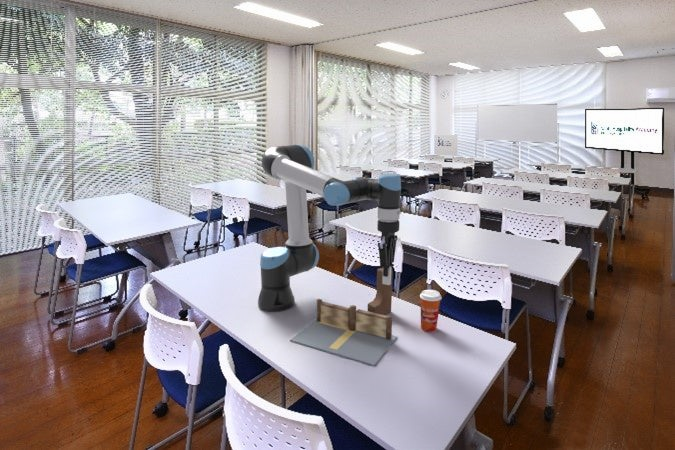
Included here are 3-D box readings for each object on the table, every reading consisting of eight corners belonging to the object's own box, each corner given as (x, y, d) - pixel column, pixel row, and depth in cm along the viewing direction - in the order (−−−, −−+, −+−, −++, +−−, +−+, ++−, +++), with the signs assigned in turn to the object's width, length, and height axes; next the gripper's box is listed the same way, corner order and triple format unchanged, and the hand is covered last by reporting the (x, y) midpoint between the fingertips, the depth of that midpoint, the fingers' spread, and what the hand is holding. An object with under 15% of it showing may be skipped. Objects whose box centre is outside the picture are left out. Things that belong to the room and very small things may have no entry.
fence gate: (355, 330, 150) (355, 310, 148) (357, 328, 152) (357, 308, 150) (390, 339, 144) (391, 318, 142) (392, 337, 145) (393, 316, 143)
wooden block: (374, 318, 161) (375, 274, 157) (367, 313, 165) (367, 271, 160) (391, 312, 166) (393, 269, 162) (384, 308, 170) (385, 266, 165)
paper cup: (416, 331, 151) (418, 295, 148) (420, 321, 158) (422, 287, 155) (437, 335, 148) (440, 299, 145) (441, 325, 155) (443, 291, 152)
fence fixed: (315, 321, 157) (315, 299, 155) (319, 318, 159) (318, 297, 157) (354, 331, 150) (354, 308, 148) (357, 328, 152) (357, 306, 150)
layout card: (289, 341, 144) (289, 339, 144) (319, 317, 161) (319, 316, 161) (374, 366, 130) (374, 364, 130) (396, 337, 147) (396, 336, 147)
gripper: (391, 224, 135) (389, 292, 141) (405, 216, 146) (402, 279, 152) (370, 222, 138) (369, 288, 144) (385, 214, 149) (383, 276, 155)
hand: (386, 283), depth 148 cm, fingers closed
